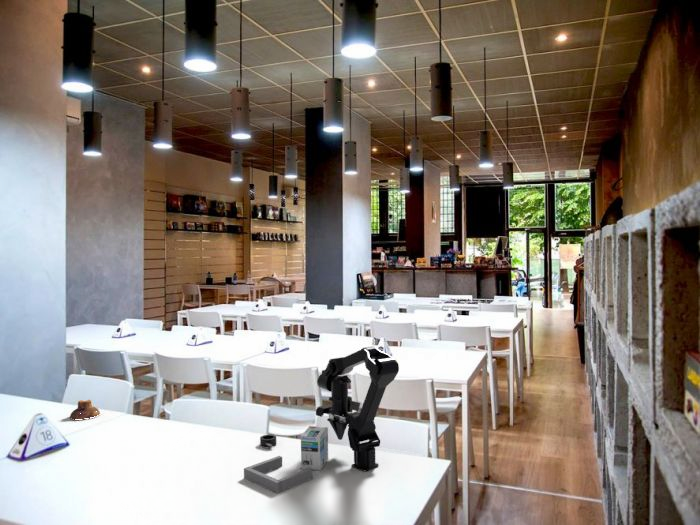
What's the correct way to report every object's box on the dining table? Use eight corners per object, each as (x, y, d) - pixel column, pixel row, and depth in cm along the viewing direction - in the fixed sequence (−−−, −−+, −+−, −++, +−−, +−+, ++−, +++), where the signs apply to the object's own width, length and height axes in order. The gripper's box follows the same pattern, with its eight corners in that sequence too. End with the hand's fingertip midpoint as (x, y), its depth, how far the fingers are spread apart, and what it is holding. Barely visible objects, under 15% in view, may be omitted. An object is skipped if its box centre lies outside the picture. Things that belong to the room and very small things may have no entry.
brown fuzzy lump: (63, 420, 227) (63, 403, 227) (82, 412, 239) (82, 396, 239) (88, 421, 225) (88, 404, 225) (106, 413, 237) (105, 397, 237)
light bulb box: (320, 470, 170) (320, 437, 170) (300, 469, 171) (300, 435, 171) (328, 458, 180) (328, 426, 180) (309, 457, 182) (309, 425, 181)
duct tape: (283, 441, 198) (283, 433, 198) (272, 451, 188) (272, 442, 188) (264, 439, 200) (264, 432, 200) (252, 448, 190) (252, 440, 190)
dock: (312, 478, 164) (312, 468, 164) (277, 493, 154) (277, 482, 154) (279, 464, 175) (279, 455, 175) (244, 478, 165) (243, 468, 165)
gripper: (375, 394, 184) (376, 439, 184) (336, 385, 196) (337, 428, 197) (353, 400, 176) (354, 448, 176) (314, 391, 188) (315, 435, 188)
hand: (340, 439), depth 184 cm, fingers closed
